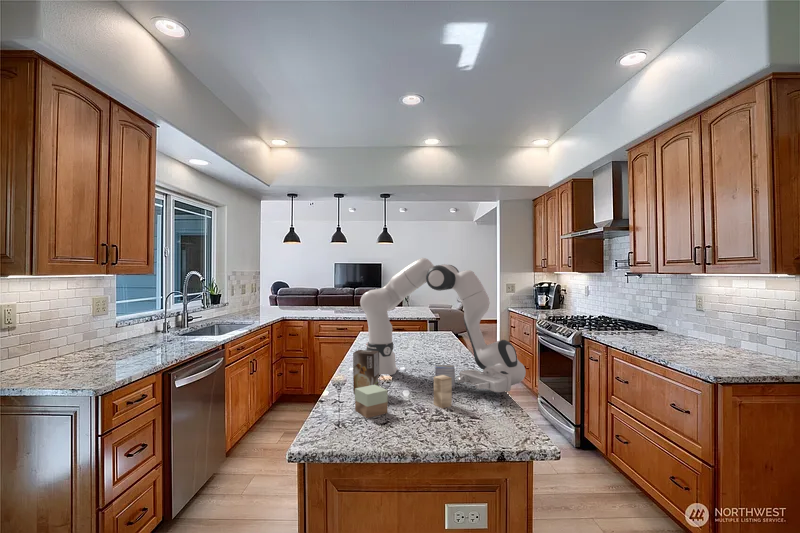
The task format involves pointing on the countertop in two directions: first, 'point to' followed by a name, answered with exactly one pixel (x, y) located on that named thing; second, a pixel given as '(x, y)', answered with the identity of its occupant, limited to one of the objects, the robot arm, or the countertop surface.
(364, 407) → the block bottom
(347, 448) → the countertop surface
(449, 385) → the pillar
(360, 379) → the coffee box
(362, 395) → the block top
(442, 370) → the medicine box
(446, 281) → the robot arm
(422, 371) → the countertop surface
